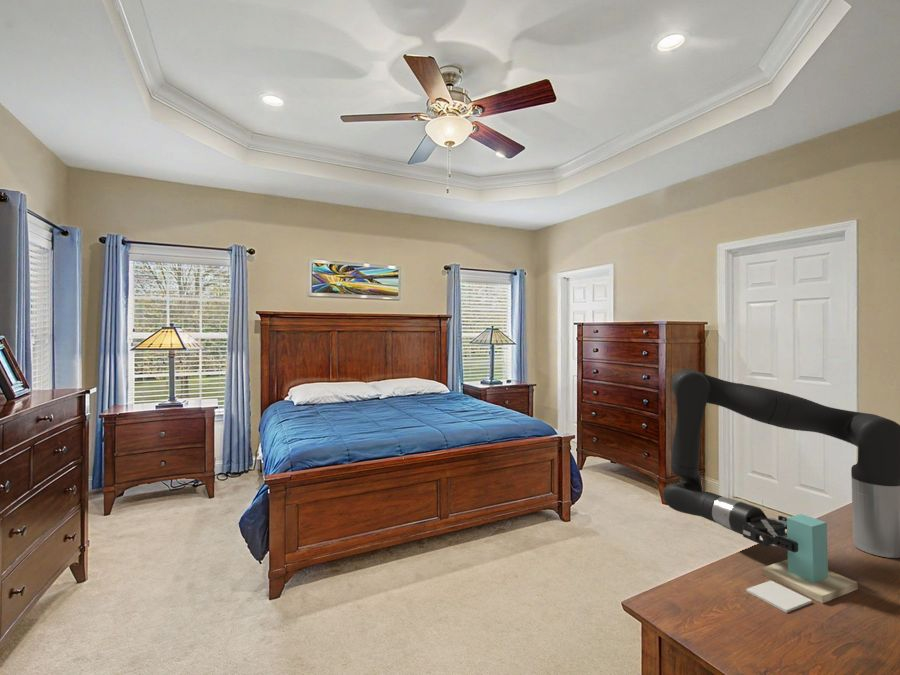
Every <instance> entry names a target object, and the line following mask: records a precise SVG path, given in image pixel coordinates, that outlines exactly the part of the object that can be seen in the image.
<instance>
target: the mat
mask: <svg viewBox="0 0 900 675" xmlns="http://www.w3.org/2000/svg"><path fill="white" fill-rule="evenodd" d="M745 592H746V593H748V594H750V595H752V596H754V597H756V598H757V599H759V600H761V601H763V602H765V603H767V604H769V605H771V606H772V607H774V608H777V609H779V610H780V611H782V612H784V613H786V614H787V613H791V612H793V611H794V610H797V609H800V608H802V607H805V606H808V605H810V604H812V603H813V599H812V598H809V597H807V596H805V595H803V594H801V593H799V592H797V591H795V590H793V589H791V588H789V587H787V586H785V585H783V584H780V583H778V582H776V581H774V580H768V581H765V582H763V583H759V584H757V585H754V586H750V587H748V588H746V589H745Z"/></svg>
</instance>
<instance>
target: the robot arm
mask: <svg viewBox="0 0 900 675" xmlns="http://www.w3.org/2000/svg"><path fill="white" fill-rule="evenodd" d="M670 387H671V390H672V393H673V394H674V396H675V404H676V405H675V406H676V424H675V431H674V433H673V438H672V445H671V447H672V448H671V458H670V470H671V472H672V474H674V475H676V476H678V477H680V482H675V483H669V484H668V485H666V486H665V487H664V488H663V490H662V498H663V501H664V503H665V504H666V505H667V506H668V507H670V508H671V509H672V510H674V511H677V512H679V513H683V514H688V515H691V516H697V517H701V518H704V519H706V520H708V521H710V522H713V523H715V524H719V525H720V526H722V527H723V528H725V529H728V530H729V531H731V532H734V533H737V534H740V535H742V537H743V538H746V539H747V540H750V541H752V542H755V543H756V544H759V545H760V546H763V547H766V548H769V547H770V545H771V546H772V547H780V548H782V549H785V550H787V551H788V550H789V551H792V552H794V553H795V552H798V543H797V542H795V541H793V540H790V539H788V538H787V532H786V530H787V518H788V517H786V516H783V515H778V517H777V519H776V518H775V517H767V515H766V514H765V512H764V510H762V508H760V507H757V506H755V505H751V504H748V503H746V502H742V501H740V500H737V499H735V498H730V497H725V496H722V495H720V494H717V493H713V492H710V491H703V486H702V481H701V480H702V479H701V476H700V472H699V470H700V469H699V467H700V457H701V456H700V455H701V454H700V453H701V452H700V451H701V433H702V424H703V420H704V419H703V418H704V414H705V411H706V410H705V409H706V406H707V404H711V405H716V406H719V407H722V408H724V409H727V410H730V411H732V412H735V413H736V414H739V415H741V416H742V417H743V416H744V417H746V418H748V419H751V420H754V421H757V422H760V423H763V424H766V425H771V426H774V427H778V428H782V429H788V430H793V431H798V432H799V431H800V432H801V431H802V432H812V433H817V434H822V435H826V436H828V437H833V438H835V439H838V440H841V441H843V442H846V443H848V444H851V445H854V446H855V447H857V462H856V463H855V464H853V465H852V466H851V469H850V470H851V471H850V472H851V474H850V475H851V476H850V477H851V479H850V480H851V509H852V511H851V512H852V544H853V546H854V547H855V548H856V549H859V550H860V551H862V552H865V553H867V554H871V555H875V556H878V557H883V558H888V559H890V558H891V559H898V558H900V424H899V423H897V422H896V421H895V420H891V419H889V418H886V417H883V416H880V415H878V414H873V413H866V412H859V411H853V410H845V409H841V408H836V407H830V406H826V405H823V404H820V403H819V402H815V401H812V400H810V399H807V398H804V397H801V396H798V395H794V394H790V393H787V392H783V391H778V390H776V389H775V390H774V389H770V388H765V387H761V386H755V385H751V384H743V383H738V382H732V381H728V380H724V379H720V378H718V377H714V376H711V375H708V374H706V373H703V372H700V371H698V370H696V369H691V368H690V369H689V368H688V369H687V368H685V369H681V370H679V371H677V372H676V373H674V374H673V375H672V378H671V380H670ZM760 537H761V538H762V539H761V538H760Z"/></svg>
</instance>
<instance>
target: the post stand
mask: <svg viewBox="0 0 900 675" xmlns="http://www.w3.org/2000/svg"><path fill="white" fill-rule="evenodd" d="M761 575H762V576H764V577H766V578H768V579H771V581H773V582H775V583H777V584H780V585H782V586H784V587H786V588H788V589H790V590H792V591H794V592H796V593H798V594H800V595H802V596H805V597H807V598H809V599H811V600H814V601H816V602H819V603H821V604H825V603H828V602H829V601H832V600H834V599H836V598H839V597H842V596H844V595H847V594H850V593H852V592H854V591H857V590H858V587H859V586H858V581H855V580H853V579H851V578H848V577H846V576H843V575H841V574H838V573H836V572H834V571H832V570H829V569H828V578H826V579H824V580H821V581H818V582H816V583H812V582H810V581H807V580H805V579H803V578H801V577H798V576H796V575H794V574H792V573H790V572H788V558H787V559H785V560H781V561H778V562H776V563H775V562H774V563H772V564H769V565H766V566H763V567H761Z"/></svg>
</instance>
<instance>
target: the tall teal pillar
mask: <svg viewBox="0 0 900 675" xmlns="http://www.w3.org/2000/svg"><path fill="white" fill-rule="evenodd" d="M786 518H787V529H786V531H787V532H786V533H787V538H788V539H790V540H793V541H795V542H797V543H798V552H795V553H794V552H792V551H789V550H787V559H788V572H790V573H792V574H794V575H796V576H798V577H801V578H803V579H805V580H807V581H810V582H812V583H816V582H818V581H821V580H824V579H826V578H828V570H829V567H828V565H829V564H828V562H829V561H828V559H829V558H828V526H827V525H828V523H827V522H826V521H823V520H820V519H819V518H815V517H812V516H809V515H805V514H803V513H800V514H796V515H792V516H789V517H786Z"/></svg>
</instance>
